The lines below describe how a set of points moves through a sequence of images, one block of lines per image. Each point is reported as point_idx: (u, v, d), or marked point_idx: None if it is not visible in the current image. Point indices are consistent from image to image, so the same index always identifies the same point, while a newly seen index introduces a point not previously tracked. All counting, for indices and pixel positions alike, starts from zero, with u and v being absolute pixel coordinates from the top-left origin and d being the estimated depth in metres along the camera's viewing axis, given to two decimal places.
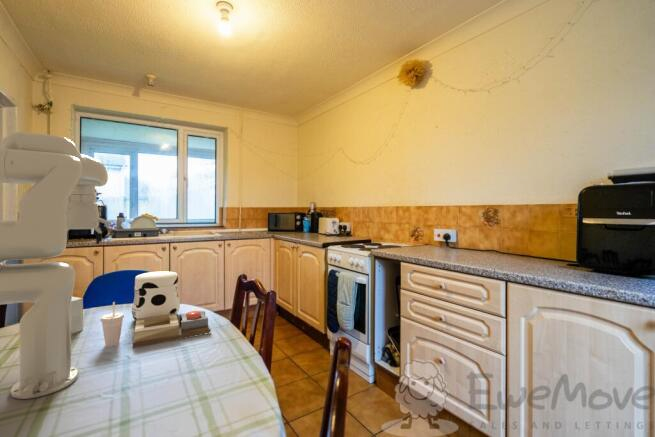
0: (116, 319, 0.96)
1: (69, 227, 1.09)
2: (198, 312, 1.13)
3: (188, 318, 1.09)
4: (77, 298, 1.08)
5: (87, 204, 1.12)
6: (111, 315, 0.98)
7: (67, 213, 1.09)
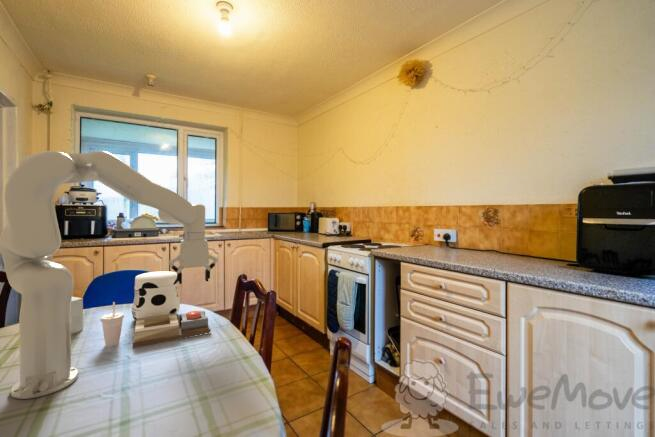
0: (116, 319, 0.96)
1: (185, 266, 1.07)
2: (198, 312, 1.13)
3: (188, 318, 1.09)
4: (77, 298, 1.08)
5: (200, 241, 1.10)
6: (111, 315, 0.98)
7: (183, 252, 1.07)
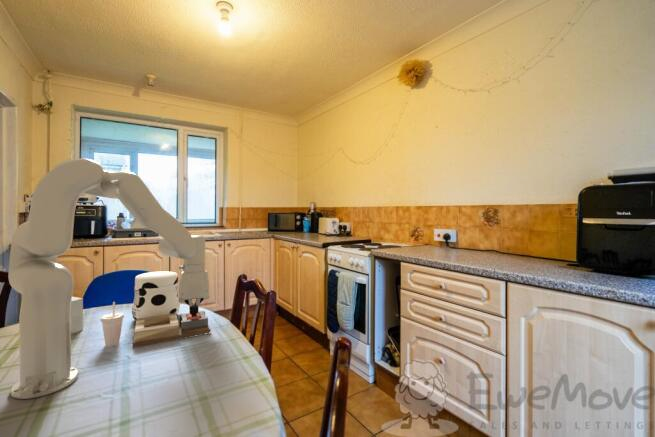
0: (116, 319, 0.96)
1: (185, 298, 1.08)
2: (198, 315, 1.13)
3: None
4: (77, 298, 1.08)
5: (200, 273, 1.10)
6: (111, 315, 0.98)
7: (183, 284, 1.07)
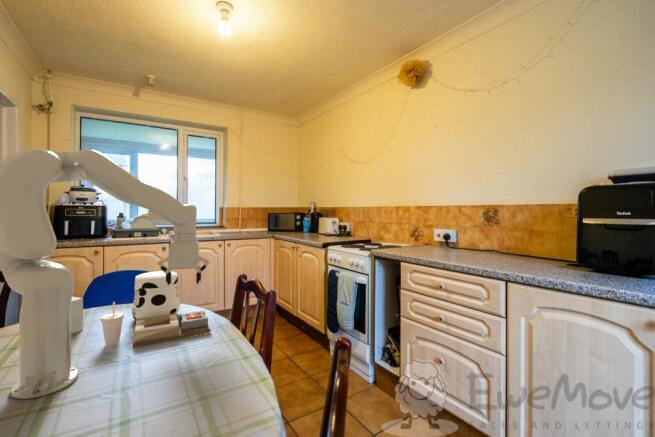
0: (116, 319, 0.96)
1: (172, 267, 1.05)
2: (198, 315, 1.13)
3: None
4: (77, 298, 1.08)
5: (189, 243, 1.07)
6: (111, 315, 0.98)
7: (171, 253, 1.05)
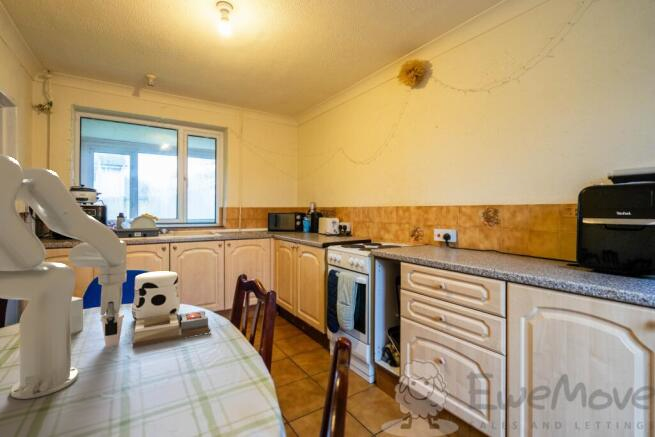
0: (116, 319, 0.96)
1: None
2: (198, 315, 1.13)
3: None
4: (77, 298, 1.08)
5: (102, 285, 0.95)
6: None
7: None
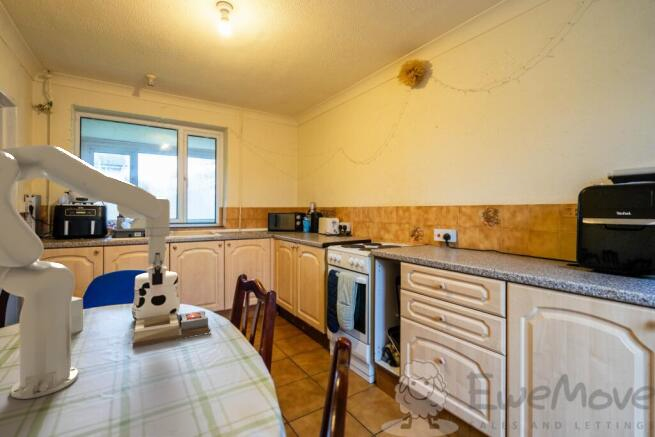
0: None
1: None
2: (198, 315, 1.13)
3: None
4: (77, 298, 1.08)
5: None
6: None
7: None
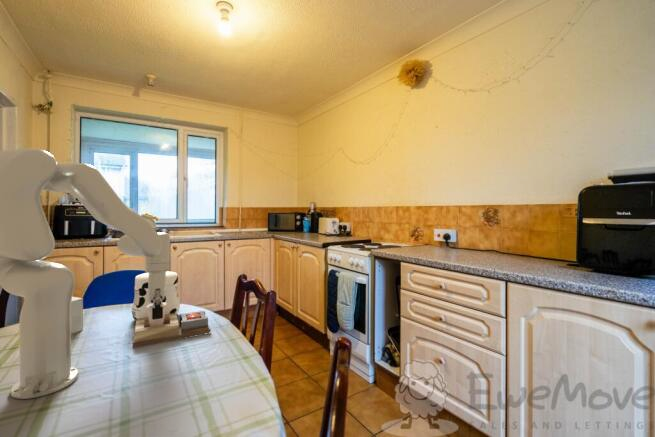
0: None
1: None
2: (198, 315, 1.13)
3: None
4: (77, 298, 1.08)
5: (149, 273, 1.02)
6: None
7: None
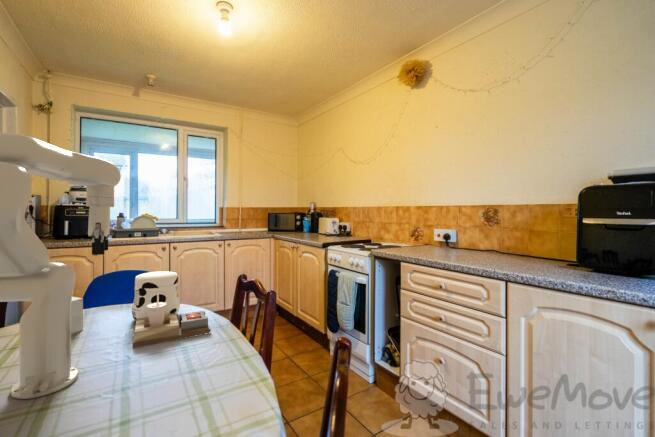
0: (161, 308, 1.04)
1: None
2: (198, 315, 1.13)
3: None
4: (77, 298, 1.08)
5: None
6: (155, 304, 1.05)
7: None
